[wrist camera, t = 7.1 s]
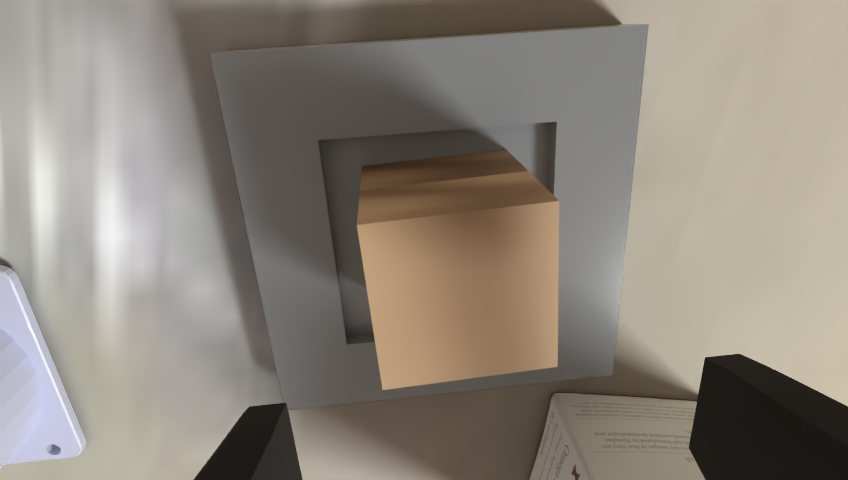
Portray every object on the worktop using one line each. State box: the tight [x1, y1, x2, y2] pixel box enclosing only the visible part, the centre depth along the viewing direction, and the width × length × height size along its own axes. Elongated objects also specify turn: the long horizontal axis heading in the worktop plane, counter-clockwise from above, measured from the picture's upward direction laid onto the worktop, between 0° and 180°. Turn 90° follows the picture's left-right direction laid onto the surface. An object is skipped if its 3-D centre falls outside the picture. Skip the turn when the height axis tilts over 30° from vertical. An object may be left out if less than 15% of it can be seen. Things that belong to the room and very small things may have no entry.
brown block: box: [357, 150, 559, 390], centre depth 15 cm, size 4×4×5 cm
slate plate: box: [210, 24, 649, 410], centre depth 17 cm, size 12×12×2 cm
